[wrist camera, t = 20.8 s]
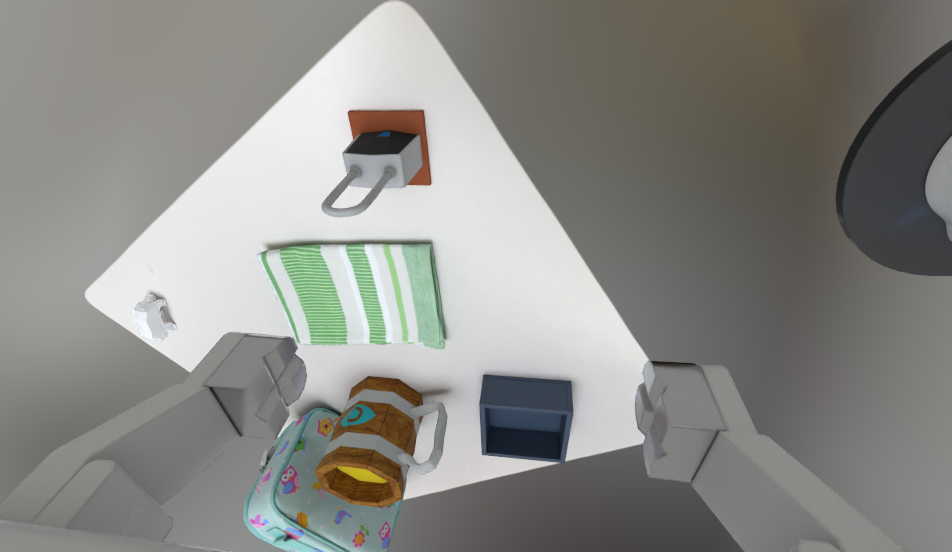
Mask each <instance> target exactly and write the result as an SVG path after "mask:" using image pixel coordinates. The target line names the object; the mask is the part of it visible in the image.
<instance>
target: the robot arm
mask: <svg viewBox="0 0 952 552" xmlns="http://www.w3.org/2000/svg"><path fill="white" fill-rule="evenodd" d="M925 194H926V199H927V201H928V204H929V205H930V207H931V208H932V210H933V211H934V212H935V213H936V214H938V215H939V216H940V217H941V218H942V219H943V220H944V221H945V223H946V228H947V235H948V238H949V240H950V241H951V242H952V136H951V137H950V138H949V139H948V140H947V142H946V143H945V144H944V145H943V147H942V148H941V149H940V151H939V152H938V154H937V155H936V157H935V159H934V160H933V162H932V164H931V167H930V169H929V172H928V175H927V178H926V184H925ZM297 349H298V347H297V345H296V343H295V341H294V338H291V337H286V336H275V335H265V334H255V333H241V332H229V333H227V334H225V335H223V337H222V338H221V339H220V340H219V341H218V342H217V343H216V345H215V346H214V347H213V348H212V349H211V350H210V351H209V353H208V354H207V355H206V356H205V357H204V358H203V360H202V361H201V362H200V363H199V364H198V365H197V366H196V368H195V369H194V370H193V371H192V372H191V373H190V375H189V376H188V377H187V378H186V379H185V380H184V381H183V382H182V384H174V385H172V386H170V387H168V388H166V389H165V390H163V391H161V392H159V393H157V394H156V395H154V396H152V397H150V398H148V399H147V400H145V401H143V402H141V403H139V404H137V405H135V406H134V407H132V408H130V409H128V410H126V411H125V412H123V413H121V414H119V415H117V416H116V417H114V418H112V419H110V420H108V421H106V422H105V423H103V424H101V425H99V426H97V427H95V428H94V429H92V430H90V431H88V432H86V433H85V434H83V435H81V436H79V437H77V438H75V439H74V440H72V441H70V442H68V443H67V444H64V445H63V446H61V447H59V448H57V449H55V450H54V451H52V452H51V453H50V454H49V455H48V456H47V457H46V458H45V459H44V460H43V461H42V462H41V463H40V464H39V465H38V466H36V467H35V468H34V469H33V470H32V471H31V472H30V473H29V474H28V475H27V476H26V477H25V478H24V479H23V480H22V481H21V482H20V483H19V484H18V485H17V486H16V487H15V488H14V489H13V490H12V491H11V492H10V493H9V494H8V495H7V496H6V497H5V498H4V499H3V500H2V501H1V502H0V552H233V551H226V550H219V549H212V548H204V547H196V546H190V545H183V544H175V543H168V542H163V541H164V539H165V538H166V536H167V535H168V533H169V532H170V530H171V529H172V527H173V525H174V524H173V518H172V517H171V516H170V515H169V514H168V513H167V512H166V511H165V510H164V509H163V508H162V507H161V505H162V504H164V503H165V502H166V501H167V500H168V499H170V498H171V497H172V496H173V495H174V494H175V493H177V492H178V491H179V490H181V488H183V487H184V486H185V485H187V484H188V483H189V482H190V481H191V480H192V479H194V478H195V477H196V476H197V475H199V474H200V473H201V472H202V471H203V470H205V469H206V468H207V467H208V466H209V465H211V464H212V463H213V462H214V461H215V460H217V459H218V458H219V457H220V456H222V455H223V454H224V453H225V452H226V451H228V450H229V449H230V448H231V447H232V446H234V445H235V444H236V443H237V442H238V441H240V440H241V437H249V438H264V439H276V438H277V436H278V434H279V432H280V431H281V429H282V427H283V425H284V424H285V422H286V420H287V418H288V417H289V415H290V414H289V409H288V406H289V405H290V404H292V403H293V402H295V401H296V400H298V399H299V397H300V395H301V393H302V391H303V390H304V387H305V382H306V378H307V374H306V367H305V364H304V361H303V360H302V359H301V358H299V357H298V356H297V355H296V354H295V352H296V350H297ZM642 373H643V377H644V381H645V382H644V383H642V384H641V385H639V386H638V389H637V393H636V401H635V413H636V420H637V426H638V429H639V430H640V431H641V432H642V433H643V434H644V435H645V436H646V437H645V440H644V443H643V446H642V449H643V454H644V459H645V463H646V468H647V472H648V477H652V478H660V479H667V480H675V481H683V482H691V483H692V484H691V485H692V486H693V488H694V489H695V490H696V491H697V492H698V494H699V495H700V496H701V498H702V499H703V500H704V502H705V503H706V504H707V505H708V507H709V508H710V509H711V510H712V512H713V513H714V514H715V515H716V517H717V518H718V519H719V520H720V522H721V523H722V524H723V525H724V527H725V528H726V529H727V530H728V532H729V533H730V534H731V535H732V537H733V538H734V539H735V540H736V542H737V543H738V544H739V545H740V547H741V548H742V549H743V551H744V552H905V551H904V549H903V548H902V547H900V546H899V545H898V544H897V543H896V542H895V541H893V540H892V539H891V538H890V537H888V536H887V535H886V534H885V533H883V531H881V530H880V529H879V528H878V527H876V526H875V525H874V524H873V523H872V522H870V521H869V520H868V519H866V517H864V516H863V515H862V514H861V513H859V512H858V511H857V510H856V509H855V508H854V507H852V506H851V505H850V504H849V503H847V502H846V501H845V500H844V499H843V498H842V497H840V496H839V495H838V494H836V492H834V491H833V490H832V489H831V488H829V487H828V486H827V485H826V484H825V483H823V482H822V481H821V480H820V479H819V478H817V477H816V476H815V475H814V474H812V473H811V472H810V471H809V470H808V469H806V468H805V467H804V466H803V465H802V464H801V463H799V462H798V461H797V460H796V459H795V458H793V457H792V456H791V455H790V454H789V453H787V452H786V451H785V450H784V449H782V448H781V447H780V446H779V445H778V444H776V443H775V442H774V441H773V440H772V439H770V438H769V437H768V436H767V435H761V434H758V433H757V431H756V429H755V427H754V425H753V422H752V420H751V419H750V416H749V414H748V412H747V410H746V407H745V406H744V403H743V401H742V399H741V397H740V395H739V393H738V391H737V389H736V386H735V384H734V382H733V380H732V378H731V376H730V374H729V372H728V370H727V369H726V368H725V367H724V366H723V365H708V364H693V363H677V362H659V361H648V362H647V363H646V364H645V366H644V369H643V372H642Z"/></svg>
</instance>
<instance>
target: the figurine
mask: <svg viewBox="0 0 952 552" xmlns="http://www.w3.org/2000/svg"><path fill="white" fill-rule="evenodd" d="M152 301H155V302H152ZM166 305H167V304H166V301H165V300H163V299H160V300H156V297H155V295H152V294H150V295H146V298H145V299H144V300H143V301H142V302H140V303H138V304H137V305H136V307H135V309H134V315H133V320H134V322H135V324H136V325H137V326H138V328H139V332H140V335H141V336H142V337H144V338H146V339H154V340H155V341H156V340H160V342H162V340H164V339H165V337H167V335H168V332H167V331H166V330H165V329H170V328H173V329H177V327H176V324H172V323H168V322H165V323H164V322H163V321H162V318H161V316H163V317H164V313H163V311H161V310H160V308H161V307H162V306H166Z"/></svg>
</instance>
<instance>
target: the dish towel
mask: <svg viewBox="0 0 952 552" xmlns="http://www.w3.org/2000/svg"><path fill="white" fill-rule="evenodd" d="M257 258H258V260H259V263H260V264H261V266H262V268H263V270H264V272H265V274H266V276H267V278H268V280H269V282H270V285H271V287H272V289H273V291H274V293H275V296H276V298H277V300H278V302H279V305H280V307H281V309H282V311H283V313H284V315H285V318H286V320H287V323H288V325H289V327H290V330H291V332H292V334H293V336H294V338H295V340H296V342H297V343H301V344H304V345H350V344H390V343H404V344H413V345H423V346H427V347H431V348H435V349H444V348H445V342H444V338H445V336H444V325H443V317H442V310H441V302H440V296H439V288H438V281H437V275H436V270H435V264H434V257H433V252H432V246H431V245H430V244H418V245H415V244H411V245H409V244H353V245H337V244H333V245H306V246H291V247H286V248H281V249H276V250H269V251H264V252H261V253H258V254H257Z"/></svg>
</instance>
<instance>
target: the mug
mask: <svg viewBox="0 0 952 552" xmlns="http://www.w3.org/2000/svg"><path fill="white" fill-rule="evenodd" d="M435 410H437V411H439V415H438V420H437V425H436V430H435V437H434V448H433V451H432V453H431V455H430V458H429V460H427V461H425V462H424V463H422V464H418V463H416V461H415V460H414V458H413V454H414V450H415V444H416V437H417V433H418V430H419V426H420V423H421V421H422V418H423V416H424V415H426V414H429V413H431V412H433V411H435ZM446 424H447V413H446V410H445V407H444V405H443V404H442V403H440V402H436V401H431V402H429V403H426V404H424V405H423V400H422V395H421V394H419V393H418V392H416V391H415V390H413V389H412V388H411V387H409V386H408V385H406V384H405V383H403V382H402V381H400V380H399V379H391V378H381V377H370V376H368V377H367V378H365V379H364V380H363V381H361V382H360V383H359V384H357V385H356V386H354V387H353V388H352V389H351V392H350V396H349V399H348V402H347V404H346V406H345V409H344V411H343V413H342V415H341V416H340V418H339V420H338V422H337V424H336V425H335V428H334V431H333V434H332V437H331V440H330V443H329V445H328V447H327V449H326V452H325V454H324V456H323V458H322V459H321V461H320V463H319V465H318V466H317V468H316V470H315V471H314V472H315V474H316V476H317V478H318V481H319V483H320V485H321V487H322V489H323V490H325V491H327V492H328V493H330V494H332V495H334V496H336V497H338V498H340V499H342V500H344V501H346V502H347V503H349V504H355V505H363V506H371V507H378V508H383V507H385V506H388V505H390V504H392V503H395V502H397V501H399V500H402V497H403V490H404V483H405V479H406V475H407V472H408V468H409V467H410V468H411V469H412V471H414V472H417V473H420V474H423V475H424V474H426V473H428V472H430V471H432V470H434V469H435V468H436V466H437V464H438V462H439V460H440V458H441V456H442V454H443V443H444V435H445V430H446Z"/></svg>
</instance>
